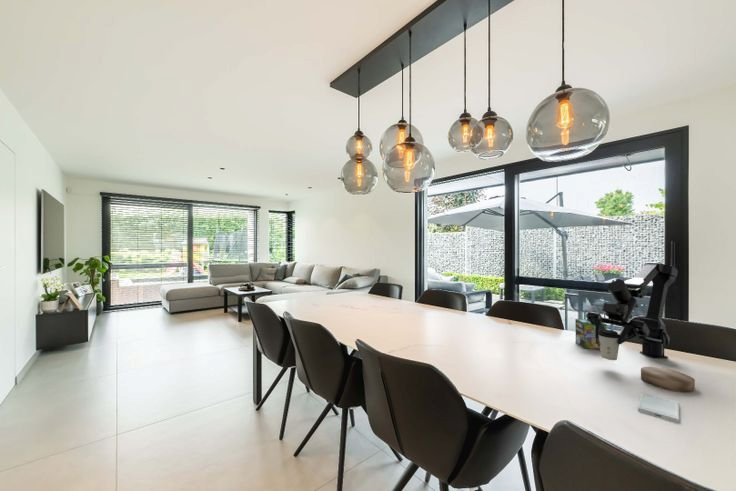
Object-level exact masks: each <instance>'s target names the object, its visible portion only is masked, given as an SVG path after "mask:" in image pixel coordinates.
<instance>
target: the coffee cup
mask: <svg viewBox="0 0 736 491" xmlns="http://www.w3.org/2000/svg"><path fill="white" fill-rule="evenodd" d="M598 335H599V342H600V349H599V350H600V354H601V358H602V359H605V360H608V361H617V359H618V355H619V349H620V345H619V344H618V343H617V342H618V340H619V338H620V336H621V334H619V333H618V332H617V331H615V330H611V329H606V330H600V332H599V333H598Z"/></svg>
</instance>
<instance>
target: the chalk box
mask: <svg viewBox="0 0 736 491" xmlns="http://www.w3.org/2000/svg"><path fill="white" fill-rule="evenodd" d="M587 313H588V312H585V313H584V314H585V317H586V315H587ZM603 326H604V327H605V330H607V323H604V325H603ZM575 343H576V344H577V345H579V346H580V347H582V348H583V349H587V350H588V349H592V350H601V349H600V342H599V338H598V339H596V337H595V325H592V324H591V323H590V321H589V320H588V318H587V317H586V318H575Z"/></svg>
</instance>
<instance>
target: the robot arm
mask: <svg viewBox="0 0 736 491" xmlns="http://www.w3.org/2000/svg"><path fill="white" fill-rule="evenodd" d="M678 275H679V274H678V269H677V268H676V267H675V266H674V265H669V264H664V263H662V262H657V261H656V262H655V261H647V262H645V263H644V265H643V267H642V268H641V269H640V270H639V271H638V272H637V274H636V275H635V276H634V277H632V278H629V279H626V280H625V279H624V278H616V280H614V281H611V282H609V283H608V284H607V286H606V288H607V290H608V292H609V293H610V296H611V297H612V298H613V300H615V303H612V302H611V303H610V302H604V303H603V306H602V309H601V311H602V312H605V316H606V317H603V316H602V315H601V313H599V312H593V311H588V312H586V313H587V315H586V314H585V317H587V318H588V320H589V321H590V323H591V324H592V325H595V337H596V339H598V338H599V335H598V333H599V332H600V330H605V327H604V326H603V325H604V323H605V324H606V325H607V324H609V325H612V326H615V327H616V326H617V327H620V328H623V330H622V333H621V334H620V338H619V340H618V342H617V343H618V344H619V346H621V345H622V344H623V343H625V342H626V341H629V340H630V339H634V338H636V337H638V339H639V340H642V343H641V347H642V348H641V350H642V351H640V350H639V353H640V354H642V355H644V356H647V357H649V358H653V359H668V358H669V356H667V355H666V354H665V345H670V340H671V339H670V336H669V334H668V333H667V330H666V325H665V323H664V321H663V314H664V310H665V305H666V300H667V294H668V288H669V286H671V285H672V284H673V283H675V281H676V280H675V279H676V277H677V276H678ZM650 283H652V288H651V290H650V291H651V292H650V296H649V297H650V298H649V301H648V307H647V312H646V315H645V316H644V317H640V318H639V320H637V319H632V318H633V315H632V314H633V312H634V310H635V308H638V307H639V304H638V301H637V299H643V298H644V297H645V296H646V295H647V293H648V289H647V286H648V285H649V284H650ZM587 318H586V319H587ZM629 320H630V321H629Z"/></svg>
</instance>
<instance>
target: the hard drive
mask: <svg viewBox="0 0 736 491" xmlns="http://www.w3.org/2000/svg"><path fill="white" fill-rule="evenodd" d="M637 412H640V413H643V414H646V415H651V416H654V417H656V418H660V419H663V420H667V421H671V422H673V423H677V424H680V402H678V401H677V400H676V401H675V400H673V399H672V400H671V399H667V398H663V397H660V396H657V395H656V396H655V395H653V394H649V393H643V392H642V393H641V394H640V399H639V404H638V408H637Z"/></svg>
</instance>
